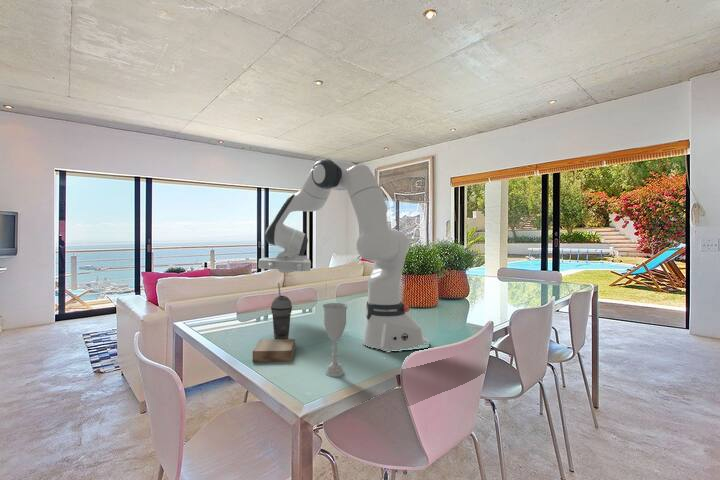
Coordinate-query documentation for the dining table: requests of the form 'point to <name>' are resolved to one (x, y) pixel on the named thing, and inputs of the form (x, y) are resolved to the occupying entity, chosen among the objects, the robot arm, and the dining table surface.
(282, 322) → the beverage cup
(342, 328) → the chalice
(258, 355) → the walnut plinth
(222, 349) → the dining table surface
